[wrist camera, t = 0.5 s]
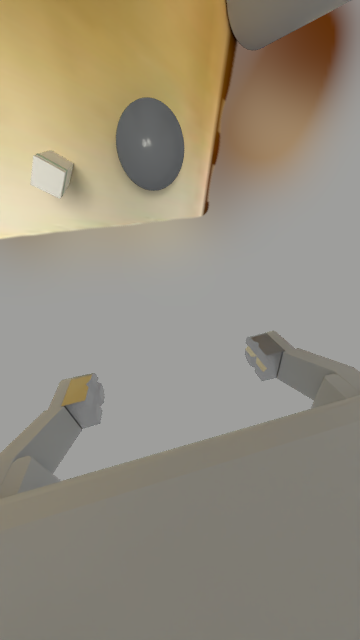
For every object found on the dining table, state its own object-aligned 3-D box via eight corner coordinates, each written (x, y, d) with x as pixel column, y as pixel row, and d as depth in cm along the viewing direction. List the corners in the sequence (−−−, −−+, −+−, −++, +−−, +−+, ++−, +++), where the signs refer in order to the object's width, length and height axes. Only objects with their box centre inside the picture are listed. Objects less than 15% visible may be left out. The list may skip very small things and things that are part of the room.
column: (50, 149, 37) (33, 154, 27) (73, 163, 39) (65, 172, 29) (47, 172, 39) (30, 184, 29) (69, 184, 41) (60, 199, 31)
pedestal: (128, 81, 34) (132, 72, 29) (185, 134, 41) (196, 134, 36) (105, 161, 40) (106, 165, 35) (158, 195, 47) (165, 202, 43)
